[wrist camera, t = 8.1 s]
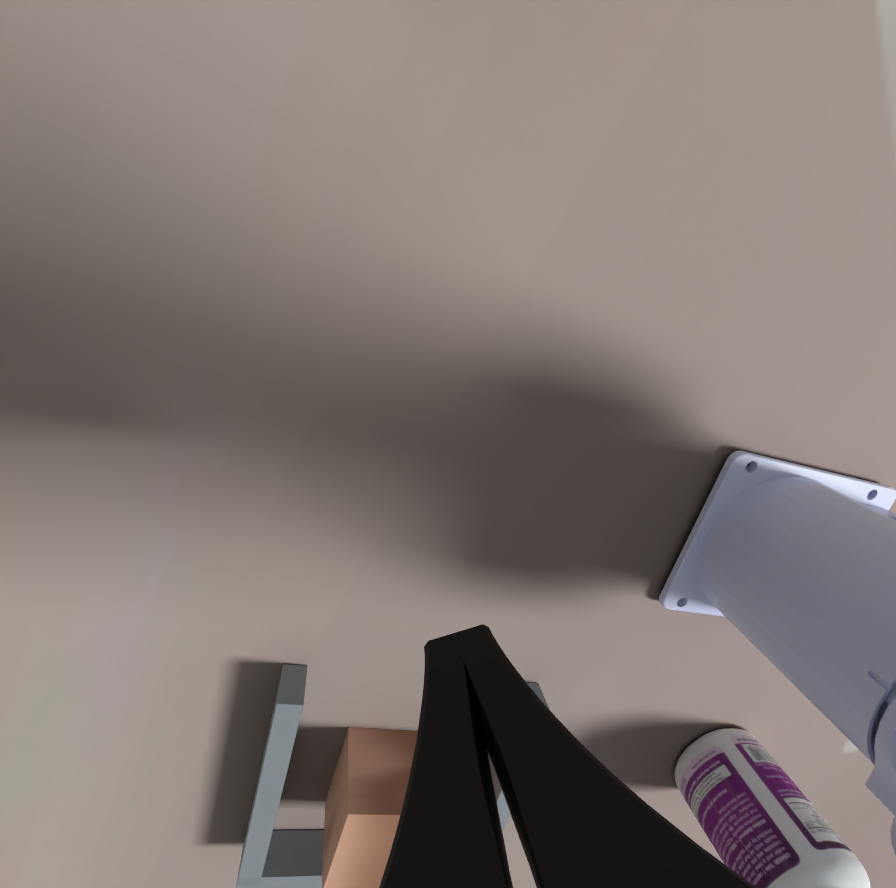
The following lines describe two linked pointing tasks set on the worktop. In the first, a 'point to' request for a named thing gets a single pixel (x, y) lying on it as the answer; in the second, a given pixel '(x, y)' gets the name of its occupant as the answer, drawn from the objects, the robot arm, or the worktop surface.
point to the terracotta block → (365, 805)
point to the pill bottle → (761, 816)
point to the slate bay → (285, 851)
